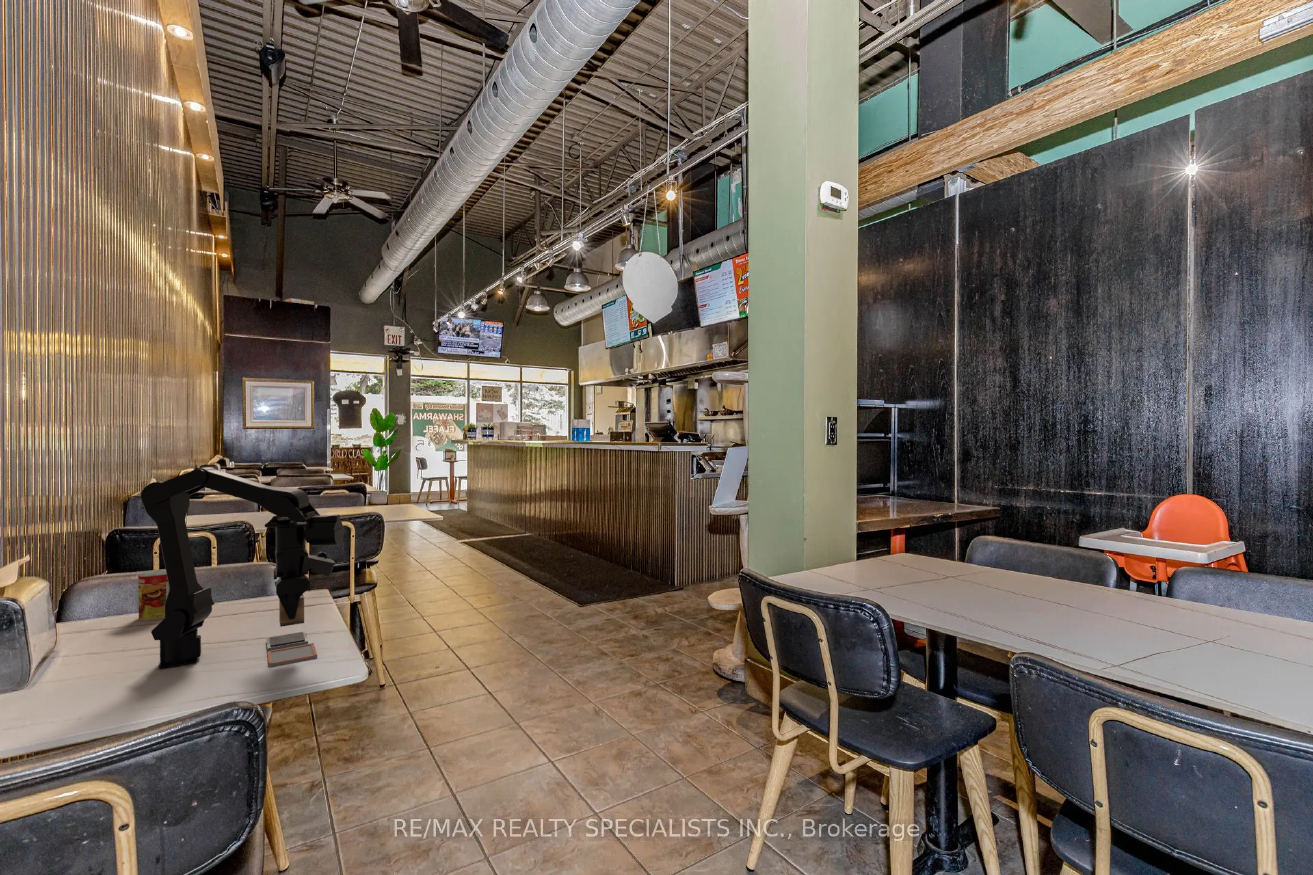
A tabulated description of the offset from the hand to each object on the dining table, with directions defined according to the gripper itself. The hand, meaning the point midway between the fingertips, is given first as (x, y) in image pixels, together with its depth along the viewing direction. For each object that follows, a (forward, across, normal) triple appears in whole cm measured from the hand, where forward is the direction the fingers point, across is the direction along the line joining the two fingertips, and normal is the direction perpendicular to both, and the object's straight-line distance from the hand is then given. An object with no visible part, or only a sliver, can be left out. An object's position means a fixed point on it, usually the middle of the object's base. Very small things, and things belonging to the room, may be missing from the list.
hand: (291, 616), depth 133 cm
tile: (+9, 0, 0) cm, 9 cm away
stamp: (+1, 0, 0) cm, 1 cm away
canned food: (+9, +55, +28) cm, 62 cm away
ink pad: (+9, +10, 0) cm, 13 cm away
